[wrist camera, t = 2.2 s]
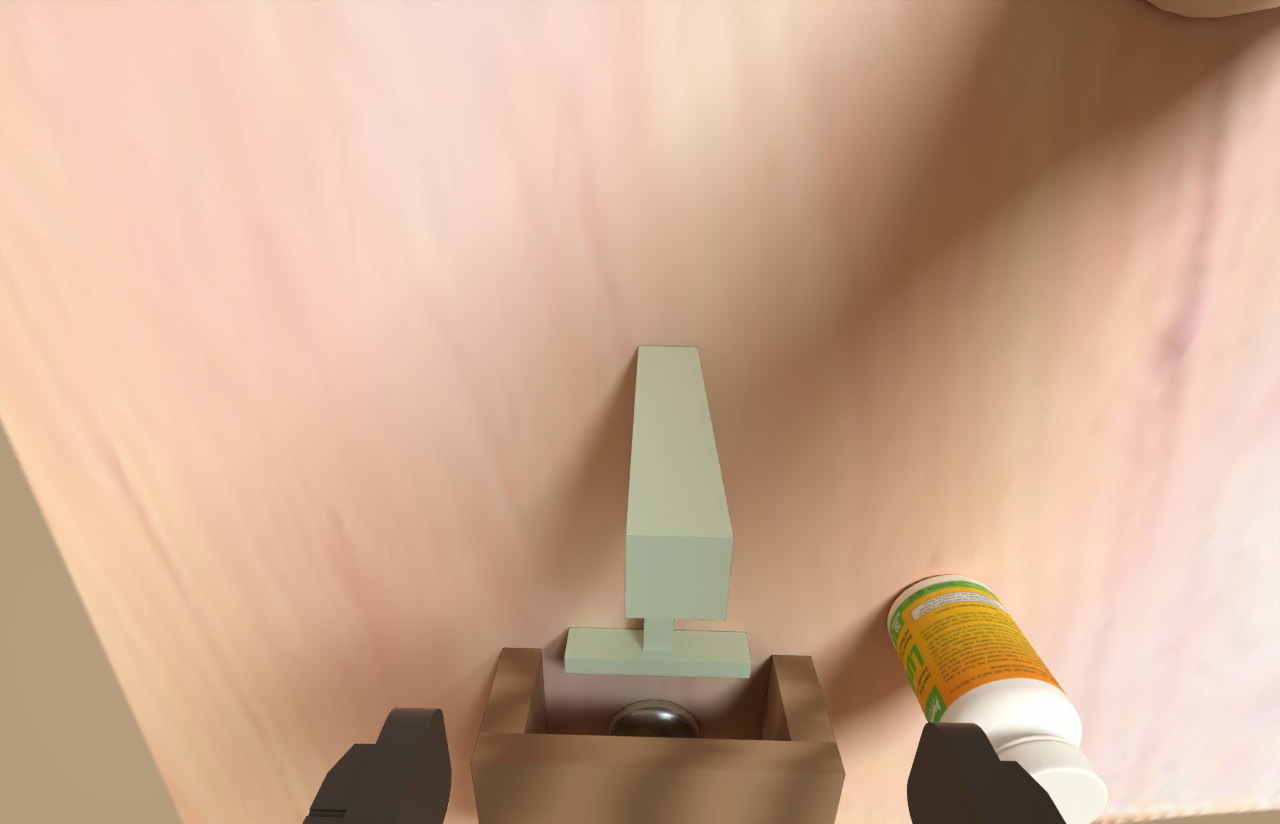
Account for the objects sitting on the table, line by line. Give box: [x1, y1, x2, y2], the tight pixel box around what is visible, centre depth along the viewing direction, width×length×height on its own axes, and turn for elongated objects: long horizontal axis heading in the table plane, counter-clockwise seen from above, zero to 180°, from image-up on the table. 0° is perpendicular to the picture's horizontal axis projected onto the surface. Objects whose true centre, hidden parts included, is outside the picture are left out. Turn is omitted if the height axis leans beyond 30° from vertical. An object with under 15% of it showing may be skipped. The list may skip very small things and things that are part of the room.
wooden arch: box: [470, 648, 845, 824], centre depth 32 cm, size 16×9×6 cm, turn 89°
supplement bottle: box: [887, 575, 1108, 824], centre depth 27 cm, size 5×5×10 cm
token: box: [609, 700, 699, 738], centre depth 35 cm, size 5×5×1 cm
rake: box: [564, 346, 751, 678], centre depth 23 cm, size 9×16×13 cm, turn 179°
